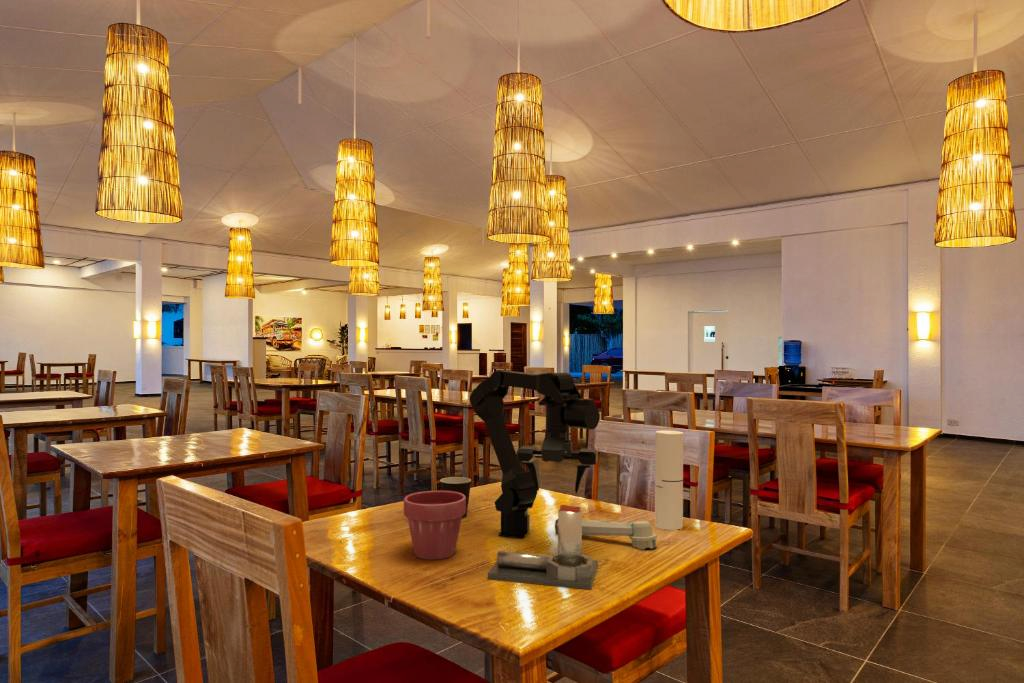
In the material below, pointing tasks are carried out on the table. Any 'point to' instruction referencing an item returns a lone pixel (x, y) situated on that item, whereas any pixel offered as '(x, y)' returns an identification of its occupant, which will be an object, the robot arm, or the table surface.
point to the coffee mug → (457, 487)
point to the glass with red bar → (569, 536)
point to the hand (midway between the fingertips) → (557, 491)
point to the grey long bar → (621, 531)
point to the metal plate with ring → (543, 570)
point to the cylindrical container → (669, 480)
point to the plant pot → (434, 522)
